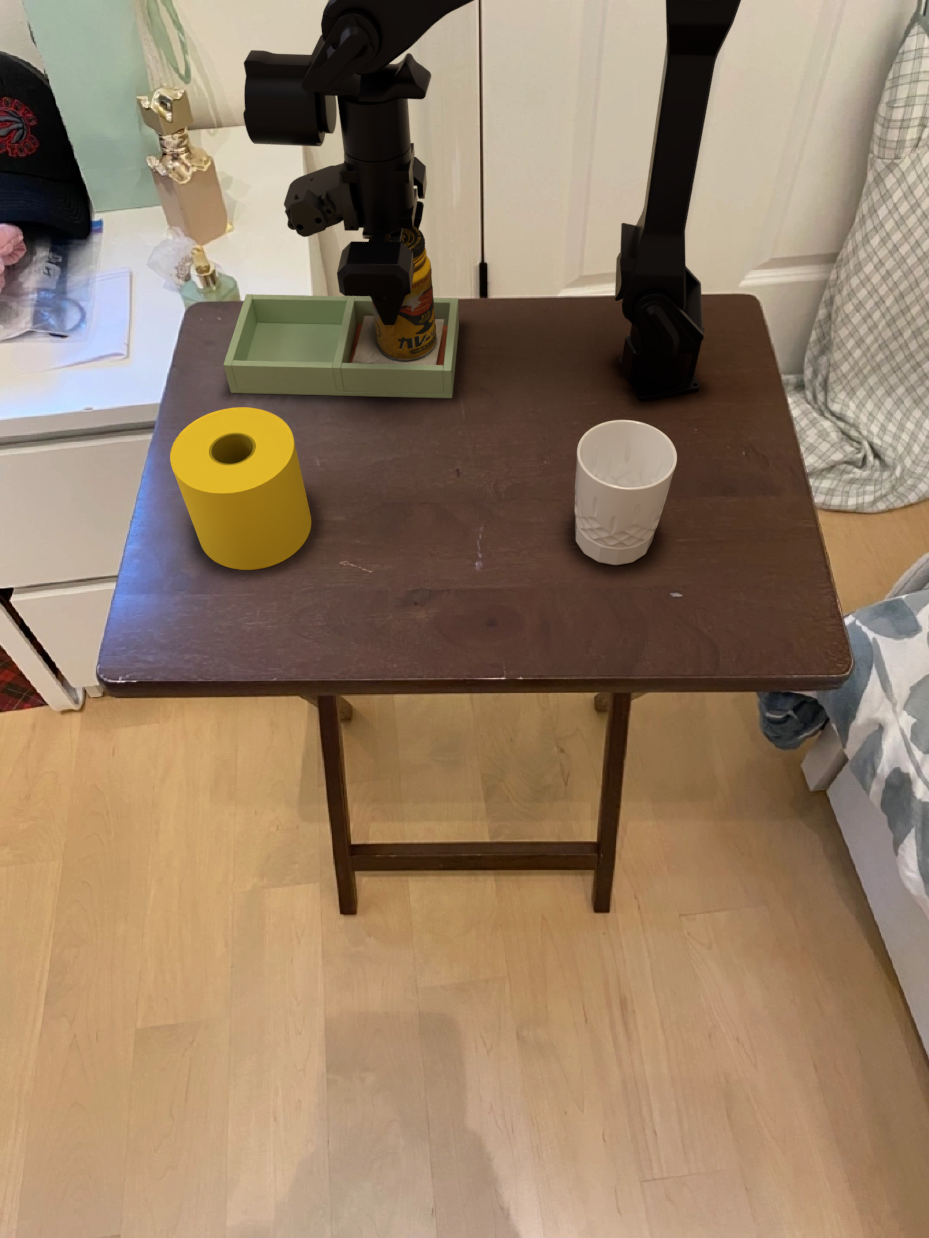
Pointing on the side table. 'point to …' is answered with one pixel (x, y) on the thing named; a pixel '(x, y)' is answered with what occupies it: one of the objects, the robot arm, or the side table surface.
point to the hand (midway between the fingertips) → (392, 304)
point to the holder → (328, 350)
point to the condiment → (405, 319)
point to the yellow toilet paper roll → (242, 487)
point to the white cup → (621, 489)
